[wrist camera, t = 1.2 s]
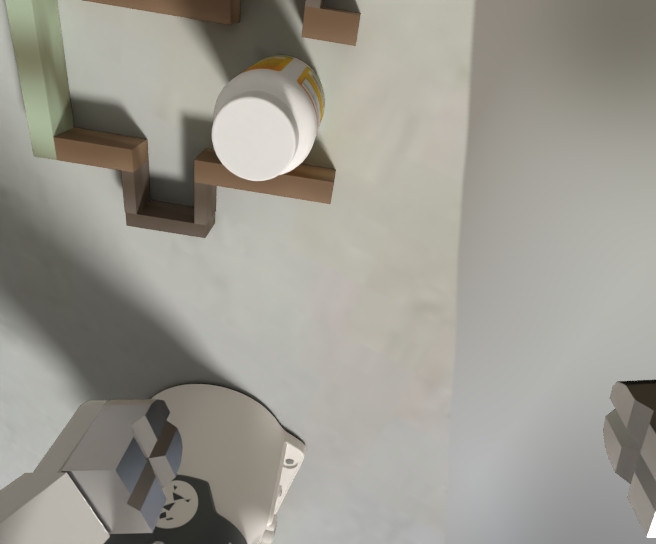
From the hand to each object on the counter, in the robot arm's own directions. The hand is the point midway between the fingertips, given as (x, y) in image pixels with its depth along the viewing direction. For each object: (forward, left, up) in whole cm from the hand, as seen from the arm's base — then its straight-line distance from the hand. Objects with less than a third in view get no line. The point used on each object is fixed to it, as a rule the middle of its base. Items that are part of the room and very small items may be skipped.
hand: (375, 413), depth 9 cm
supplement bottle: (0, +5, -25) cm, 26 cm away
